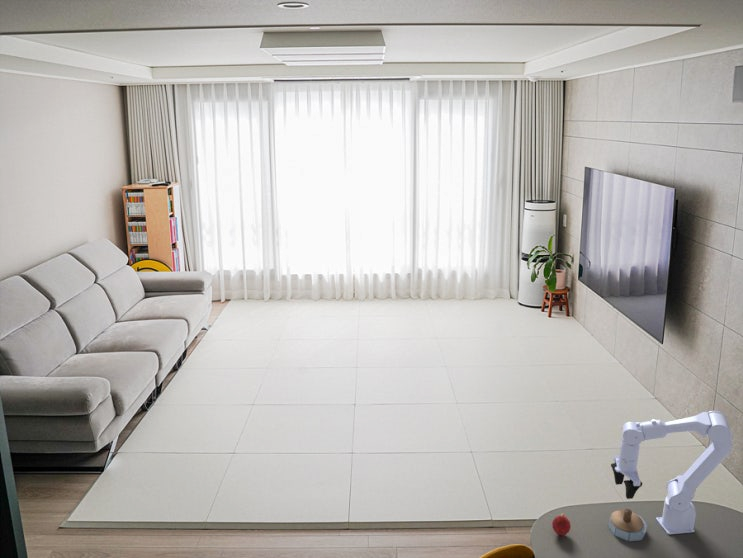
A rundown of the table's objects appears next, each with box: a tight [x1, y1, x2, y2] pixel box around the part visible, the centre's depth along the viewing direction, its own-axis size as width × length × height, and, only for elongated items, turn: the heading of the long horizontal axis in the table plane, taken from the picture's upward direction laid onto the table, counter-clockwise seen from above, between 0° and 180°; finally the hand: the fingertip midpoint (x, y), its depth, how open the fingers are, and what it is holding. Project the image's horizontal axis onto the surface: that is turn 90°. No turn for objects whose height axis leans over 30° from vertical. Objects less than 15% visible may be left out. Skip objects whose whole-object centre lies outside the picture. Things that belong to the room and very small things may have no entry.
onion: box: [551, 513, 571, 536], centre depth 214 cm, size 6×6×8 cm
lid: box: [610, 508, 643, 532], centre depth 216 cm, size 10×10×4 cm
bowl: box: [608, 514, 648, 542], centre depth 217 cm, size 11×11×3 cm
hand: (624, 490), depth 220 cm, fingers open, 7 cm apart
